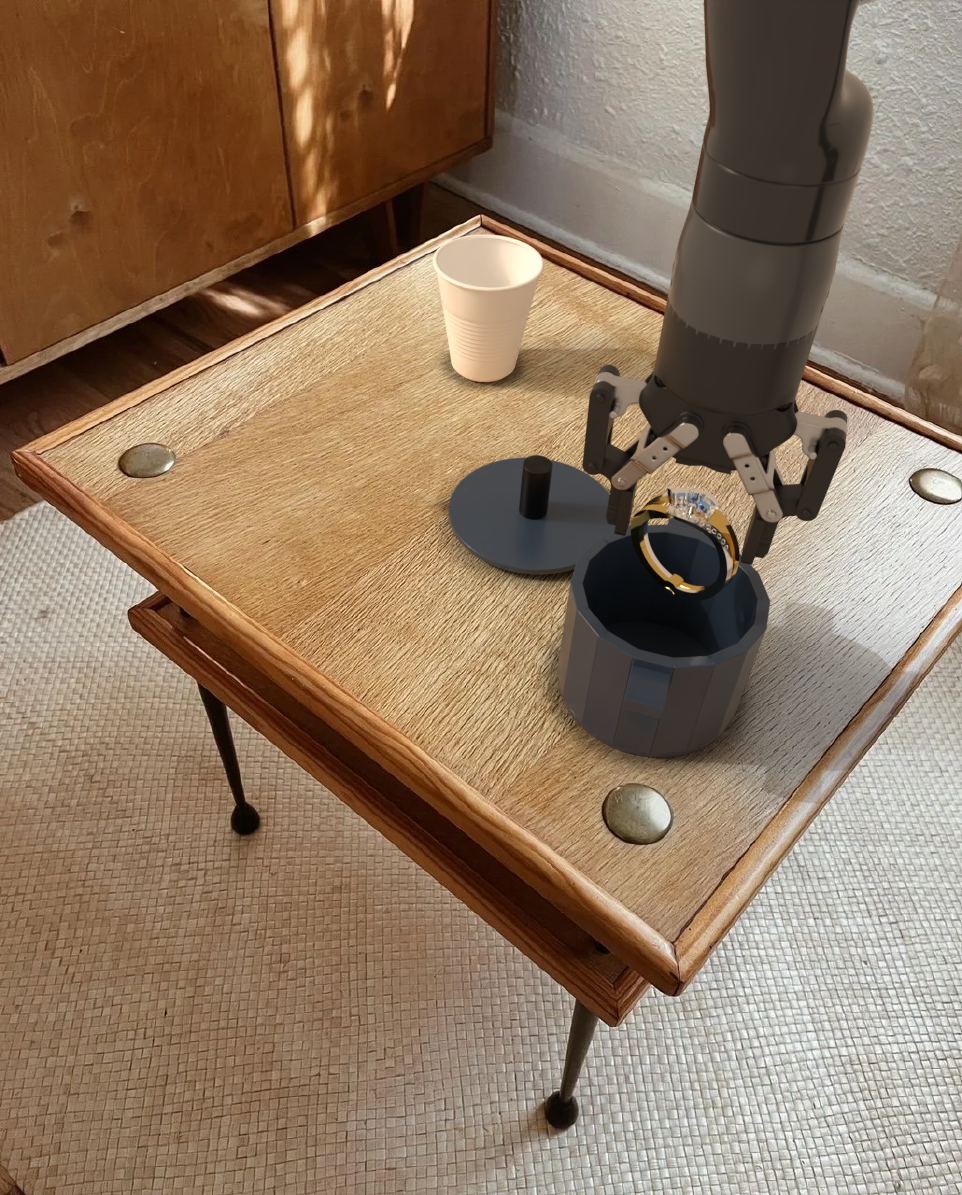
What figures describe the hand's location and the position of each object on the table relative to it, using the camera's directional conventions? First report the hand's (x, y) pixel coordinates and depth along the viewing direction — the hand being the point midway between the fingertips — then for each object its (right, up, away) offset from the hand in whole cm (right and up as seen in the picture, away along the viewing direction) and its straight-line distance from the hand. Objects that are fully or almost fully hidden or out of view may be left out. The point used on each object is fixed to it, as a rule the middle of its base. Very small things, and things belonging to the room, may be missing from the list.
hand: (684, 540), depth 63 cm
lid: (-8, +3, +21) cm, 23 cm away
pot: (-1, -10, +10) cm, 14 cm away
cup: (-12, +19, +37) cm, 43 cm away
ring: (0, -3, +3) cm, 5 cm away
